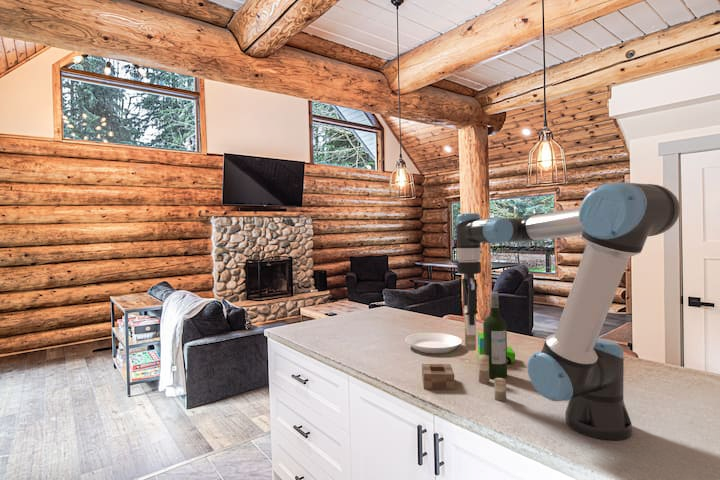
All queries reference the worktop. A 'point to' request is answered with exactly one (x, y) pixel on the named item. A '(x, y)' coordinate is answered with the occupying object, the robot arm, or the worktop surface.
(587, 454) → the worktop surface
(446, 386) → the hole block
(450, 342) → the white plate
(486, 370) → the medium dowel
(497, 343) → the wine bottle
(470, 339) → the long dowel
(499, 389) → the short dowel
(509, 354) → the toy car
